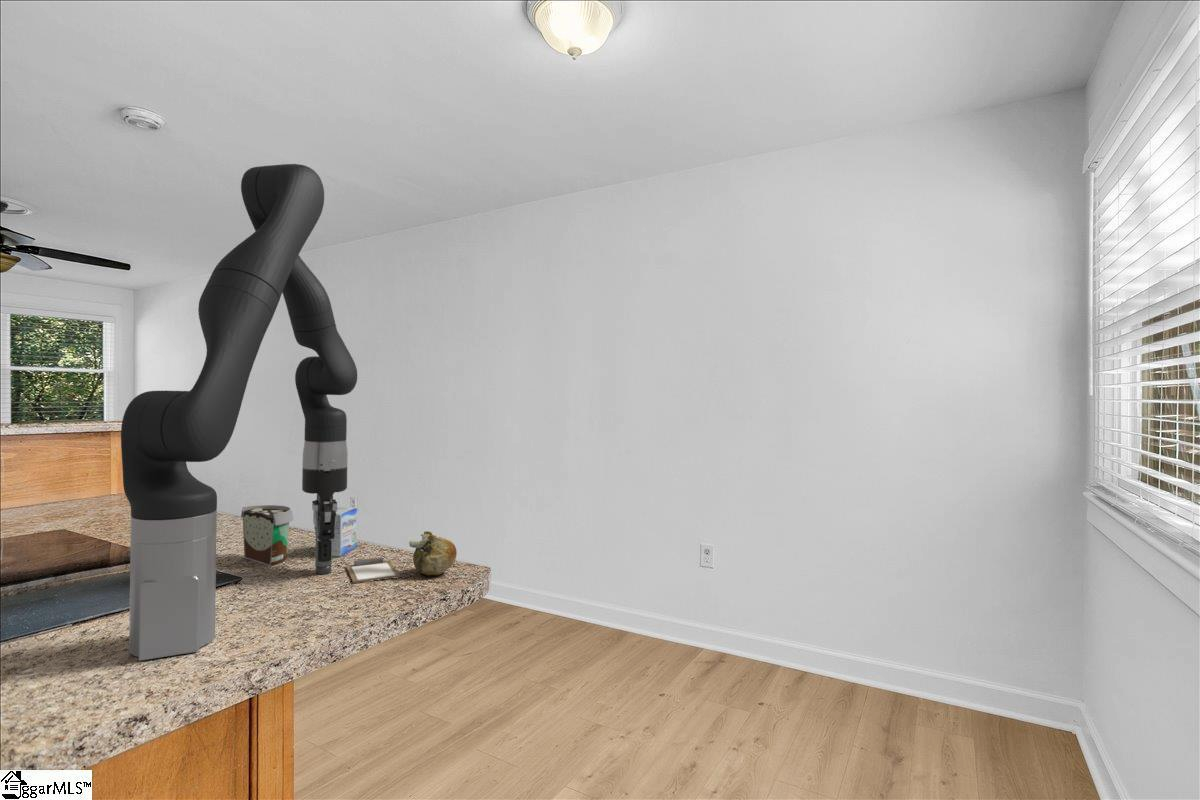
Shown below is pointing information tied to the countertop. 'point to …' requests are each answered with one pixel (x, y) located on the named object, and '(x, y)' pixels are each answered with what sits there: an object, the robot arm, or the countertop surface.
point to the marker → (322, 567)
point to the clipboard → (371, 570)
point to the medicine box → (345, 531)
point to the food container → (266, 533)
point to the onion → (433, 554)
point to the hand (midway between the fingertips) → (323, 558)
